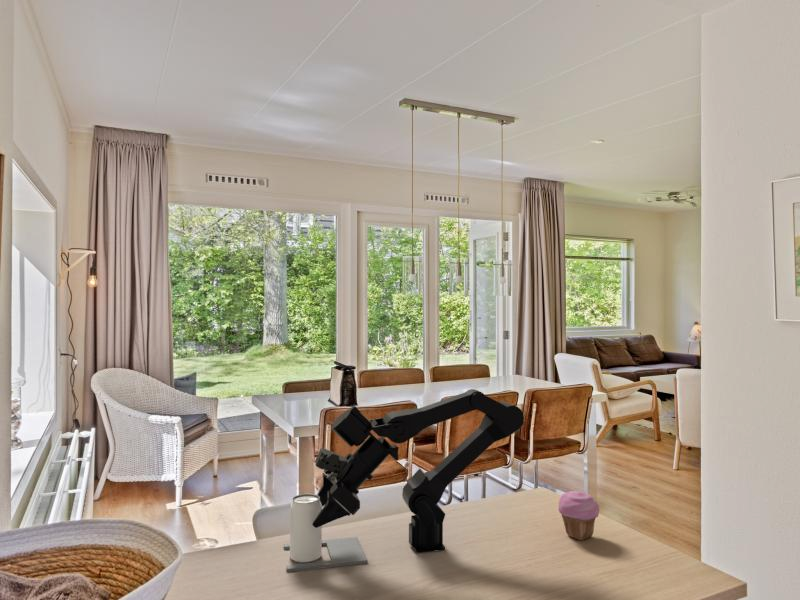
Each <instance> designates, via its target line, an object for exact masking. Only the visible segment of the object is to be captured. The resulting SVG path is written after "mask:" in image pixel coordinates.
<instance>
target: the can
mask: <svg viewBox="0 0 800 600" xmlns="http://www.w3.org/2000/svg"><path fill="white" fill-rule="evenodd" d="M322 509H323V506H322V504H321V502H320V497H319V496H318V495H317V494H314V493H302V494H297V495H295V496H294V497H292V502H291V504H290V509H289V510H290V511H289V512H290V513H289V519H290V520H289V543H290V549H289V557H290V559H291V561H293V562H294V563H295V562H296V563H298V564H305V563H314V562H317V560H319V558H320V557H322V549H323V548H322V547H323V546H322V540H323V539H322V538H323V537H322V536H323V535H322V534H323V533H322V532H323V529H322V528H323V525H322V526H320V527H317V528H315V527H314V526H313V525H312V523H313V522H314V520H315V519H316V517H317V516H318V514H319V513H320V512H321V510H322Z"/></svg>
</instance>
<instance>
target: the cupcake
mask: <svg viewBox="0 0 800 600" xmlns="http://www.w3.org/2000/svg"><path fill="white" fill-rule="evenodd" d="M558 512H559V514H560V515H561V517H562V521H563V524H564V529H565V533H566V535H567V536H569V537H571V538H574V539H575V540H579V541H583V540H586V539H588V538H591V537H592V536H593V534H594V530H595V529H594V528H595V521H596V519H597V518H598V517H599V514H600V506H599V504H598V503H597V501H596V500H595V498H594V497H592V496H591V495H590V494H589V493H586V492H584V491H571V490H570V491H567V492H564V493H562V494H561V496H560V498H559V500H558Z"/></svg>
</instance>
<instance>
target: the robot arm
mask: <svg viewBox="0 0 800 600" xmlns="http://www.w3.org/2000/svg"><path fill="white" fill-rule="evenodd" d="M473 411H479V412H480V413H483V414H484V415H483V418H482V420H481V422H480V424H479V426H478V427H477V428H476V429H475V430H474V431H473V432H472V433H471V434H469V436H467V438H466V439H464V440H463V441H462V442H461V443H460V444H459V445H458V446H457V447H455V448H454V449H453V450H452V451H451V452H450V453H449V454H448V455H447V456H446V457H445V458H444V459H443V460H442V461H440V462H439V463H438V464H437V465H436V466H435V467H434V468H433V469H431V470H428V471H425V472H424V471H423V469H421V468H419V469H417V471H415V473H414V474H413V475H412V476H410V477H409V478H407V479H405V481H406V483H405V485H404V486H403V488H402V499H403V501H404V502H405V505H407V507H408V509H409V511H410V512H411V514H413V515H411V516H410V517H411V518H410V521H411V522H409V524H408V543H409V545H410V546H411V547H412V548H413V550H414V551H415V553H416V554H419V553H420V554H421V553H429V552H440V551H445V550H446V546H445V545H444V544H443V542H444V541H443V540H444V539H443V537H444V534H443V533H444V525H443V524H444V520H445V518H446V513H445V511H444V510H443V509H442V508H441V506H440V505H439V504H438V503H439V502H440V501H441V499H442V497H443V495H444V492H445V491H446V488H447V487H448V486H449V485H450V484H451V483H452V482H453V481H454V480H456V478H457V477H458V476H459V475H461V474H462V473H463V472H464V471H465V470H466V469H467V468H468V467H469V466H470V465H472V463H474V462H475V461H476V460H477V459H478V458H479V457H480V456H481V455H482V454H483V453H485V451H486V450H488V449H489V447H491V446H492V445H493V444H494V443H496V442H499V441H501V440H503V439H506V438H508V437H511V435H513V434H515V433H516V432H517V431H519V430H520V429H521V428H522V427H523V426H524V423H525V416H524V412H523V410H522V409H521V408H520V407H518V406H516V405H514V404H511V403H509V402H507V401H500V400H499V401H497V400H495V399H494V398H491V397H489V396H487V395H486V394H484V392H482V391H480V390H477V389H474V388H473V389H472V388H471V389H468V390H466V391H465V392H463V393H459V394H457V395H453V396H450V397H448V398H445V399H443V400H440V401H437V402H434V403H430V404H428V405H425V406H422V407H419V408H410V409H409V408H408V409H407V408H406V409H399V410H394V411H389V412H388V413H385V415H384V416H383V417H378V418H374V419H368V418H367V417H366V416H365V415H363V413H362V412H361V411H360V410H359V408H358V407H357V406H356V405H352V406H351V407H350V408H348V409H346V410H345V411H344V412H343V413H341V414H339V416H338V417H337V418H336V419H335V420H334V421H333V423H332V424H331V426H330V430H332V431H333V432H334V433H335V434H336V435H337V436H338V437H339V438H340V439H341V440H342V441H343V442H344V443H346V444H347V445H348V446H349V447H350V448H351V447H353V446H354V447H358V448H357V449H356V450H355V451H354V452H353V453H352V452H350V453H348V454H346V455H345V456H343V455H341V454H339V453H337V452H334V451H332V450H329V449H327V448H323V447H321V448H319V451H318V453H317V455H316V457H315V460H314V463H315V467H316V468H318V469H321V470H323V472H322V474H321V476H322V485H321V486H320V488H319V490H318V492H317V494H316V495H318V496H319V497H320V502H321V504H322V510H321V512H320V513H319V514H318V516H317V517H316V519H315V520H314V522H313V523H312V525H313V526H314V527H315V528H317V527H320V526H322V527H323V526H324V525H327V524H328V523H332V522H334V521H336V520H338V519H341V518H344V517H347V516H348V517H349V516H351V515H352V516H355V514H356V513H357V512H358V511H359V510H360V508H361V500H360V498H359V496H358V494H359V492H360V490H359V489H360V487H361V486H362V485H363V484H364V483H365V482H366V481H367V480H369V481H371V480H372V479H373V474H374V472H375V471H376V470H377V469H378V467H379V466H380V465H381V464H382V463H383V462H384V461H385V460H386V459H387V458H388V457H389V456H390V457H392V458H393V459H394V461H398V460H399V449H400V447H399V446H398V445H397V444H404V443H406V442H408V441H410V440H411V439H413V438H414V437H416V436H418V435H419V434H420V433H421V432H423V431H424V430H425V429H427V428H428V427H431V426H434V425H437V424H440V423H442V422H444V421H445V422H446V421H447V420H450V419H453V418H456V417H459V416H462V415H465V414H467V413H470V412H473ZM371 431H372V432H374V433H375V434H376V435H377V436H378V437H377V436H376V435H374V433H372V432H371ZM386 438H388V440H390V442H393V443H395V444H391V443H390V442H389V441H388V440H387V439H386Z"/></svg>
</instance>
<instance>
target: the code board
mask: <svg viewBox="0 0 800 600" xmlns="http://www.w3.org/2000/svg"><path fill="white" fill-rule="evenodd" d="M322 545H327V546H326V549H327V552H328V556H329V559H330V560H327V561H326V560H325V561H324V560H323V561H314V562H309V563H298V564H297V563H296V564H289V565H288V564H287V565H286V567H285V569H286V573H291V572H299V571H309V570H316V569H326V568H327V569H328V568H336V567H344V566H345V567H346V566H353V565H354V566H356V565H364V564H368V563H369V562H368V558H367V555H366V553H365V551H364V549H363V546H362V545H361V543H360V540H359V537H358V536H351V537H342V538H332V539H331V538H330V539H322ZM283 550H284V551H285V550H290V542H288V543H283Z"/></svg>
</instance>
